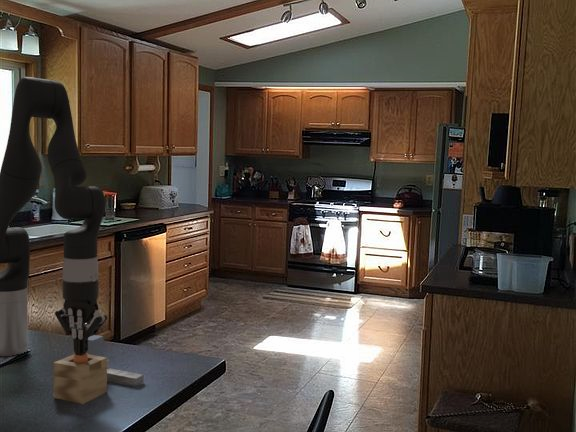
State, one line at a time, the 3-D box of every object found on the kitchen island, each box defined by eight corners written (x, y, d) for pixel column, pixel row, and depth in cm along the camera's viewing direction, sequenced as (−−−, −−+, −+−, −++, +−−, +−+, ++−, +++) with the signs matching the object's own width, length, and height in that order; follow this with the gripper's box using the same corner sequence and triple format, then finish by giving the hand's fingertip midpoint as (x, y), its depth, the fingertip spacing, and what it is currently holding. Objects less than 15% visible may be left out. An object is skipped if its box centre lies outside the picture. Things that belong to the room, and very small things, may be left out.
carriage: (73, 375, 157) (73, 338, 156) (88, 369, 162) (88, 332, 161) (93, 379, 154) (93, 342, 153) (108, 372, 160) (108, 336, 159)
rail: (73, 374, 158) (73, 366, 158) (82, 371, 161) (82, 363, 161) (136, 387, 151) (136, 378, 151) (143, 382, 154) (143, 374, 154)
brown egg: (70, 368, 144) (70, 355, 144) (79, 364, 147) (79, 351, 147) (81, 370, 143) (81, 357, 143) (90, 366, 146) (90, 353, 146)
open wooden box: (53, 397, 144) (53, 362, 143) (78, 386, 151) (78, 352, 150) (83, 404, 141) (83, 368, 140) (106, 391, 148) (106, 357, 147)
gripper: (44, 277, 142) (45, 354, 144) (94, 283, 137) (94, 363, 139) (68, 271, 149) (68, 345, 151) (116, 277, 144) (116, 353, 146)
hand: (80, 354), depth 145 cm, fingers closed
